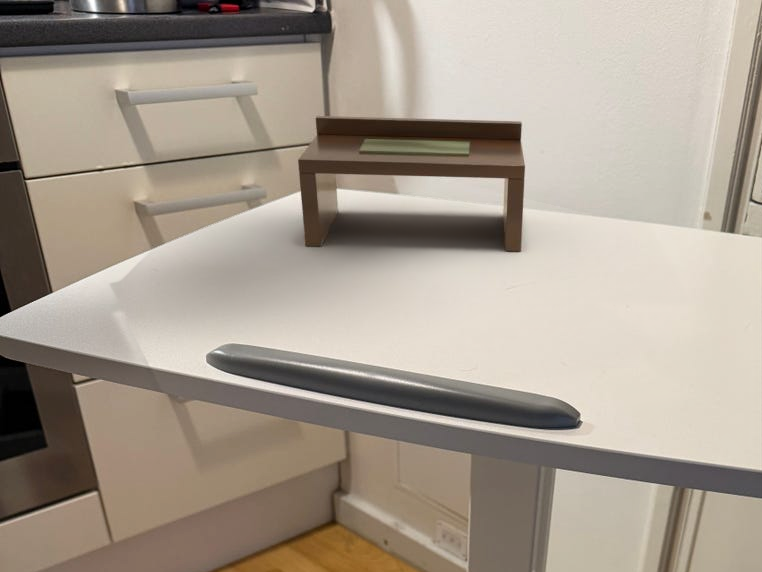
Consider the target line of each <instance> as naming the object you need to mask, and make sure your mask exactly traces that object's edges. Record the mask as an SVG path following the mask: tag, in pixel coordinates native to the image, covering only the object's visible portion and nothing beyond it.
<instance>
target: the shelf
mask: <svg viewBox="0 0 762 572" xmlns="http://www.w3.org/2000/svg"><path fill="white" fill-rule="evenodd" d="M315 127H316V128H315V130H316V136H315V137H314V138H313V139H312V141H311V142H310V143H309V145H308V146H307V147H306V149H305V150H304V151H303V152H302V153H301V155H300V157H298V159H297V164H298V176H299V187H300V189H299V190H300V200H301V210H302V223H303V232H304V233H303V234H304V244H305V247H322V246H323V243H324V241H325V240H326V237H327V236H328V233H329V231H330V229H331V227H332V225H333V223H334V221H335V219H336V218H337V215H338V213H339V203H338V201H339V200H338V191H337V190H338V188H337V175H359V176H361V175H363V176H364V175H365V176H397V177H398V176H399V177H400V176H401V177H434V178H435V177H437V178H441V177H442V178H474V179H475V178H476V179H477V178H478V179H504V185H503V209H502V211H503V214H502V217H503V219H502V221H503V232H504V233H503V235H504V250H505V252H522V239H523V236H522V235H523V220H524V219H523V217H524V198H525V178H526V177H525V176H526V174H525V173H526V163H525V158H524V150H523V145H522V132H523V131H522V128H523V123H522V121H519V120H518V121H517V120H516V121H515V120H514V121H513V120H481V119H480V120H479V119H443V118H442V119H441V118H439V119H438V118H411V117H410V118H408V117H407V118H405V117H403V118H402V117H373V116H334V115H331V116H330V115H317V116H316V117H315Z"/></svg>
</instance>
